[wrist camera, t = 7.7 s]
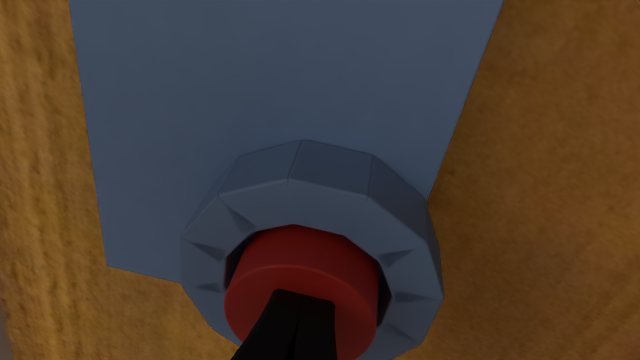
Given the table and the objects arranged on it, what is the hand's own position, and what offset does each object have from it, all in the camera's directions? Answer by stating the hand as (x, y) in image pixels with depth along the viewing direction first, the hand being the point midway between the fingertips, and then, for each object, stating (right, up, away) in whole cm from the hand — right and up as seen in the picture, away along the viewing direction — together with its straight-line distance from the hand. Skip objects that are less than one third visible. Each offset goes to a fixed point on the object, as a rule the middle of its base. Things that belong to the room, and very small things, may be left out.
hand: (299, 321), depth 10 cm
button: (0, +1, +1) cm, 2 cm away
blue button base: (-1, +5, +2) cm, 6 cm away
